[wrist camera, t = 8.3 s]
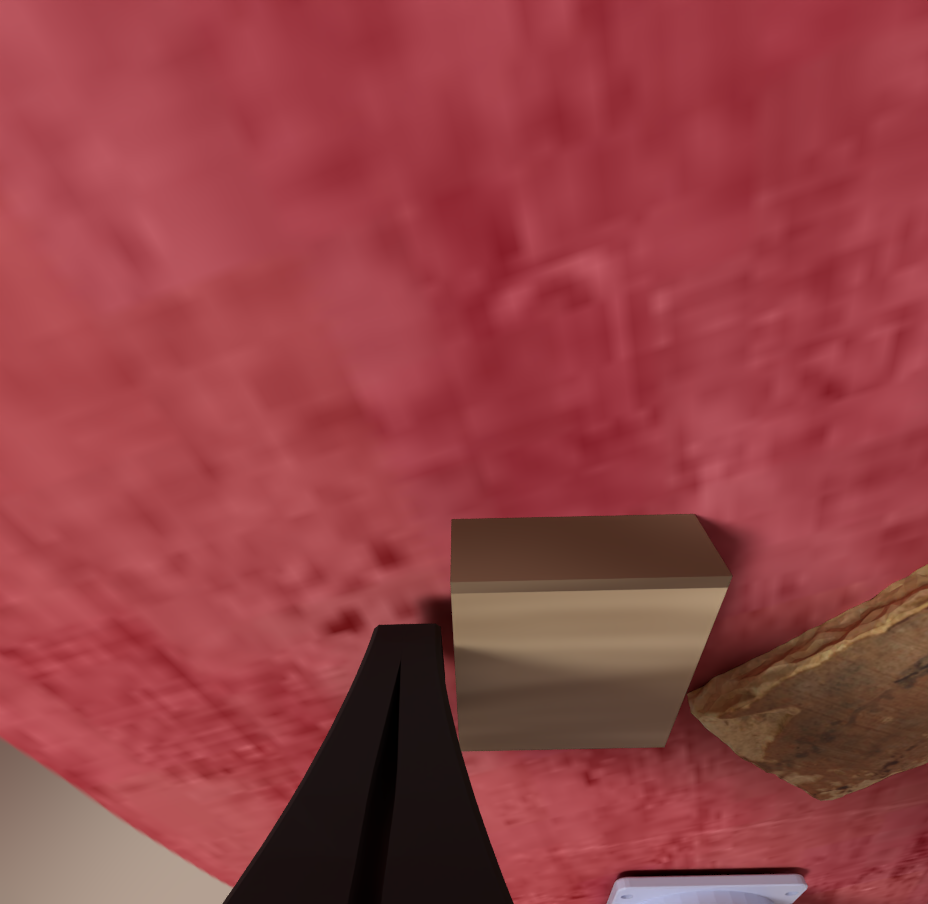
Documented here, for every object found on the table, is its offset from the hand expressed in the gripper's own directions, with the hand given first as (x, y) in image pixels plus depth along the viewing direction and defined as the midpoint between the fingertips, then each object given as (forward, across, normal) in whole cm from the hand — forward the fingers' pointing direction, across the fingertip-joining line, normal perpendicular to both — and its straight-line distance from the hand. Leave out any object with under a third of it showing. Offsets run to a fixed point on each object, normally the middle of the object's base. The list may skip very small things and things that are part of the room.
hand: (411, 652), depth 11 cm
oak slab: (0, -4, +3) cm, 5 cm away
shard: (+2, -11, +2) cm, 11 cm away
